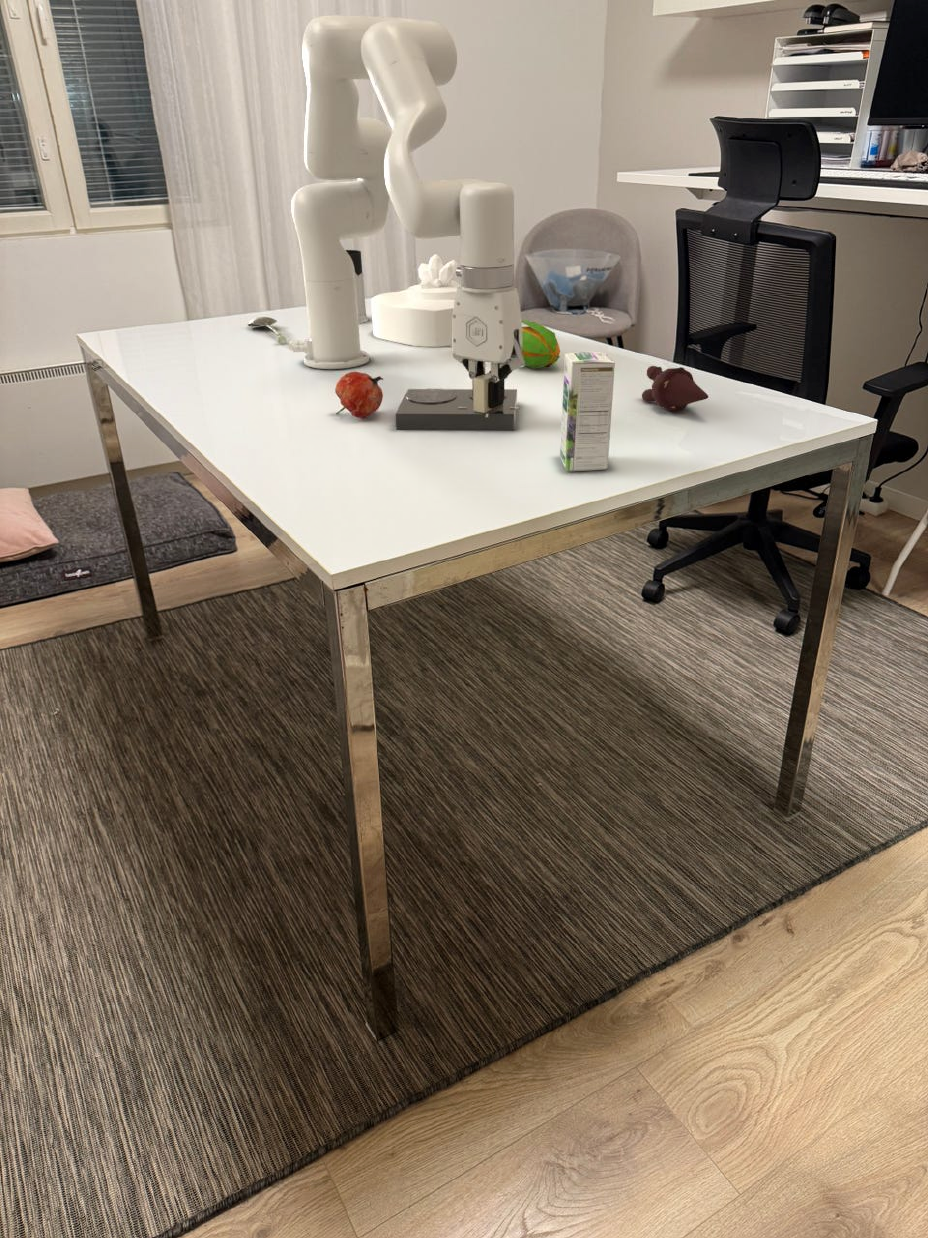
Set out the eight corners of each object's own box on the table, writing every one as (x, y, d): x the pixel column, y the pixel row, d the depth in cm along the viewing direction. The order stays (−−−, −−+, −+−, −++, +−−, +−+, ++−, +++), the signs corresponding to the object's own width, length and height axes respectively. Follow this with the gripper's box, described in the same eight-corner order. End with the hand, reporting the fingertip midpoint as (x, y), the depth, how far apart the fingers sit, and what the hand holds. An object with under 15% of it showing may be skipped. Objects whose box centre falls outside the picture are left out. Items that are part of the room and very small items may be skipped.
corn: (535, 331, 164) (489, 312, 180) (531, 375, 167) (487, 352, 184) (571, 330, 166) (523, 311, 183) (567, 373, 170) (520, 350, 186)
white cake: (440, 316, 217) (438, 243, 210) (518, 330, 202) (519, 252, 194) (357, 333, 202) (351, 255, 194) (435, 350, 186) (432, 266, 179)
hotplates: (403, 403, 144) (403, 402, 144) (410, 389, 151) (410, 388, 151) (505, 403, 143) (505, 402, 143) (507, 389, 150) (507, 388, 150)
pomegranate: (337, 436, 146) (380, 402, 140) (311, 396, 145) (354, 360, 140) (360, 428, 152) (403, 395, 147) (336, 389, 151) (378, 355, 146)
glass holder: (326, 324, 212) (319, 254, 205) (343, 312, 224) (337, 246, 217) (362, 324, 211) (357, 254, 204) (378, 312, 223) (374, 246, 216)
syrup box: (558, 458, 128) (562, 352, 121) (600, 456, 128) (606, 350, 121) (566, 472, 123) (570, 362, 116) (609, 470, 123) (616, 360, 116)
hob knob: (484, 413, 139) (483, 378, 136) (473, 411, 140) (472, 376, 137) (503, 404, 142) (503, 370, 140) (493, 402, 143) (492, 369, 141)
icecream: (731, 375, 140) (668, 364, 152) (694, 369, 136) (632, 358, 149) (719, 421, 142) (658, 406, 154) (683, 416, 138) (623, 401, 151)
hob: (394, 433, 139) (393, 415, 138) (408, 404, 153) (407, 388, 152) (518, 433, 138) (518, 416, 137) (521, 404, 152) (521, 388, 150)
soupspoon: (274, 327, 213) (246, 331, 211) (272, 312, 212) (243, 316, 210) (297, 342, 195) (267, 346, 193) (295, 325, 194) (264, 330, 192)
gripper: (427, 277, 133) (432, 403, 142) (519, 286, 125) (518, 419, 134) (458, 270, 139) (461, 391, 148) (548, 278, 130) (546, 406, 139)
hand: (488, 403), depth 141 cm, fingers closed on hob knob, 2 cm apart
